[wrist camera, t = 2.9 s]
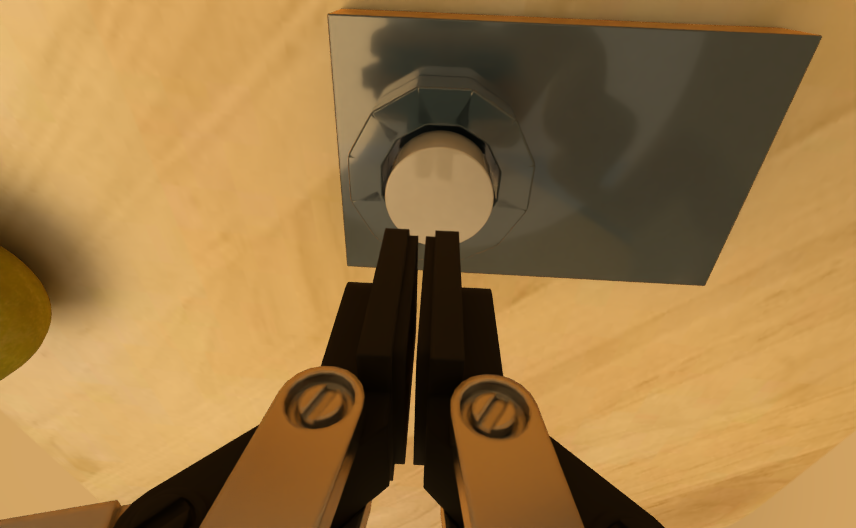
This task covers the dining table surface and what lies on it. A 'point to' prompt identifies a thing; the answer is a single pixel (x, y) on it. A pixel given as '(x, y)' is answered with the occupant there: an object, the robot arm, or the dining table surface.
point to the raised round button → (439, 186)
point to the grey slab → (567, 133)
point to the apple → (20, 313)
